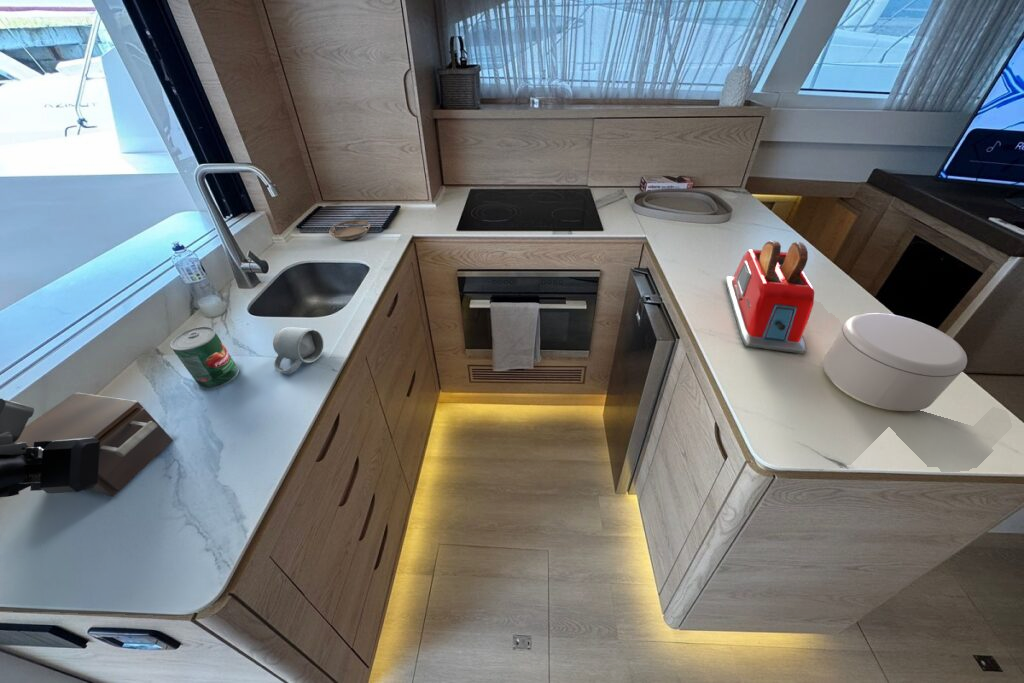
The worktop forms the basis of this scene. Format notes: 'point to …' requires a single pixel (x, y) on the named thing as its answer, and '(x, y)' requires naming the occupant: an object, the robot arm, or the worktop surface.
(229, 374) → the canned tomato
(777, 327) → the toaster
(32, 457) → the robot arm
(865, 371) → the container
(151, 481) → the worktop surface
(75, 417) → the storage box
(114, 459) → the drawer
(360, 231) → the saucer
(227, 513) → the worktop surface
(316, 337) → the ceramic mug
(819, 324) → the worktop surface
